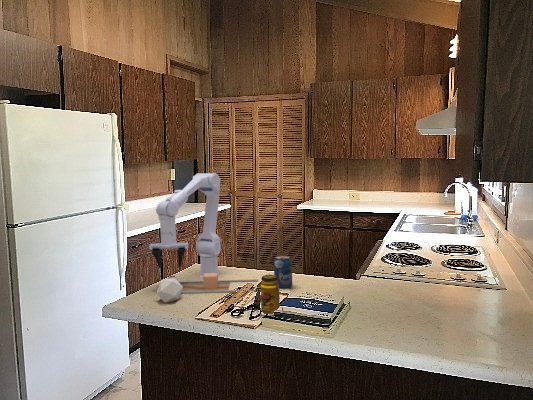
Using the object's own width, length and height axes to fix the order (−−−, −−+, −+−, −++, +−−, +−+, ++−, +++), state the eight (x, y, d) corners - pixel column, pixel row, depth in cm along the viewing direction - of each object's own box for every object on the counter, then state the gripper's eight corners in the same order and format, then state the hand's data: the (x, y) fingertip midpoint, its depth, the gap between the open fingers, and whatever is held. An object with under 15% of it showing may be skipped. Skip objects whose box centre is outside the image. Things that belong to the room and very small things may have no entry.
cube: (205, 285, 175) (204, 273, 174) (218, 285, 175) (217, 272, 174) (203, 289, 170) (203, 276, 169) (216, 289, 170) (216, 276, 169)
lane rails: (168, 284, 180) (168, 281, 180) (257, 282, 180) (257, 279, 179) (160, 295, 165) (159, 292, 165) (257, 293, 165) (257, 290, 165)
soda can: (281, 291, 166) (281, 260, 165) (270, 287, 172) (270, 256, 171) (296, 287, 170) (295, 257, 169) (284, 284, 176) (284, 254, 175)
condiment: (258, 316, 141) (257, 279, 140) (261, 307, 150) (260, 272, 149) (281, 316, 141) (280, 279, 140) (283, 307, 149) (282, 272, 148)
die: (178, 296, 165) (161, 277, 164) (191, 289, 160) (174, 269, 159) (165, 311, 159) (147, 290, 158) (178, 303, 154) (160, 282, 153)
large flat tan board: (170, 285, 178) (170, 274, 178) (230, 283, 178) (230, 272, 178) (163, 294, 166) (163, 282, 166) (227, 292, 166) (227, 281, 166)
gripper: (146, 234, 166) (148, 270, 167) (185, 233, 166) (187, 269, 167) (151, 231, 173) (153, 265, 174) (188, 230, 173) (190, 264, 174)
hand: (170, 267), depth 171 cm, fingers open, 7 cm apart
